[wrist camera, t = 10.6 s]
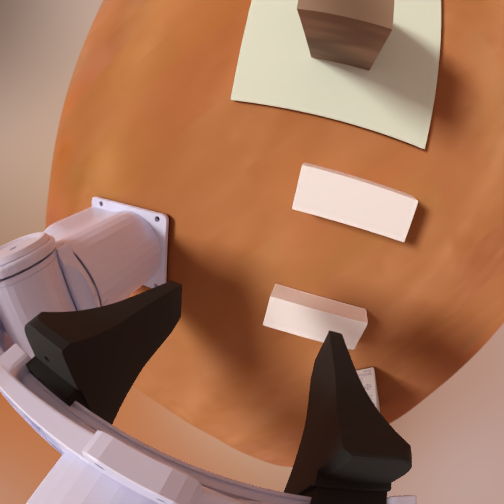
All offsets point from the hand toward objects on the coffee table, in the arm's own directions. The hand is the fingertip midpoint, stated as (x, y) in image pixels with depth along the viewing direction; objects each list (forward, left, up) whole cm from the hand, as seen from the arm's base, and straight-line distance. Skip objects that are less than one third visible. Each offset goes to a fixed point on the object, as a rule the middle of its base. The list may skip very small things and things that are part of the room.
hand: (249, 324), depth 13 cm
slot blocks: (+4, 0, -10) cm, 11 cm away
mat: (+1, +17, -10) cm, 20 cm away
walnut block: (+1, +17, -10) cm, 19 cm away
